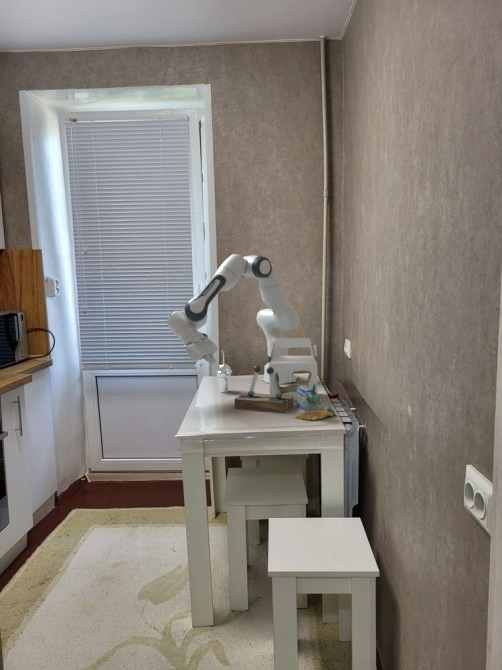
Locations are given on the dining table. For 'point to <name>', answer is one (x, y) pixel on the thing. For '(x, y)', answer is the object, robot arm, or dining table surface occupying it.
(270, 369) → the lever
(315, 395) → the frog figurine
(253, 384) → the lever
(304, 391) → the medicine box
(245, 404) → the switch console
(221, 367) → the cup with straw
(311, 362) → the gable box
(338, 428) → the dining table surface
